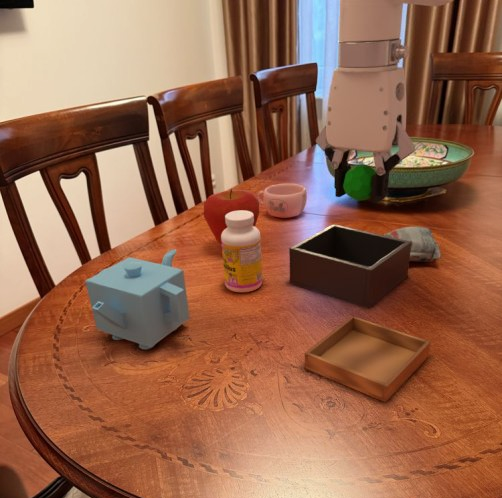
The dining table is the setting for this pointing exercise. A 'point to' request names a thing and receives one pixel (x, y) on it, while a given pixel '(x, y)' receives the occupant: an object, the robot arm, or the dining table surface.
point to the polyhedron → (359, 182)
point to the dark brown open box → (350, 264)
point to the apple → (228, 208)
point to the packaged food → (418, 243)
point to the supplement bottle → (241, 252)
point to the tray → (367, 357)
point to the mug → (284, 200)
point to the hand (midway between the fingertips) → (359, 196)
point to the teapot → (139, 300)
